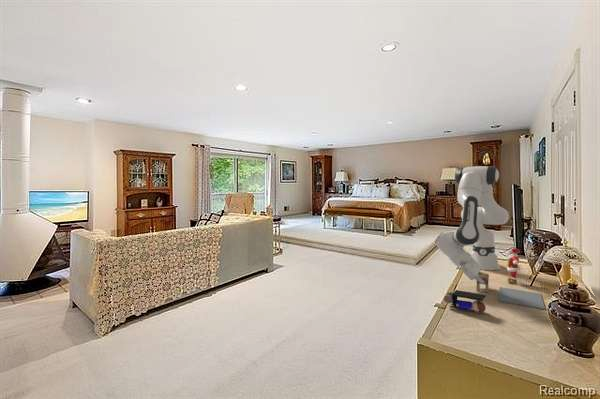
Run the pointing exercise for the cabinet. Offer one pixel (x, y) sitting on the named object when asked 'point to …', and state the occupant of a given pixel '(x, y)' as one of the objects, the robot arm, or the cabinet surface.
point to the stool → (485, 278)
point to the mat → (521, 298)
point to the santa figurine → (513, 265)
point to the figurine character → (476, 305)
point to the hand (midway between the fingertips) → (484, 281)
